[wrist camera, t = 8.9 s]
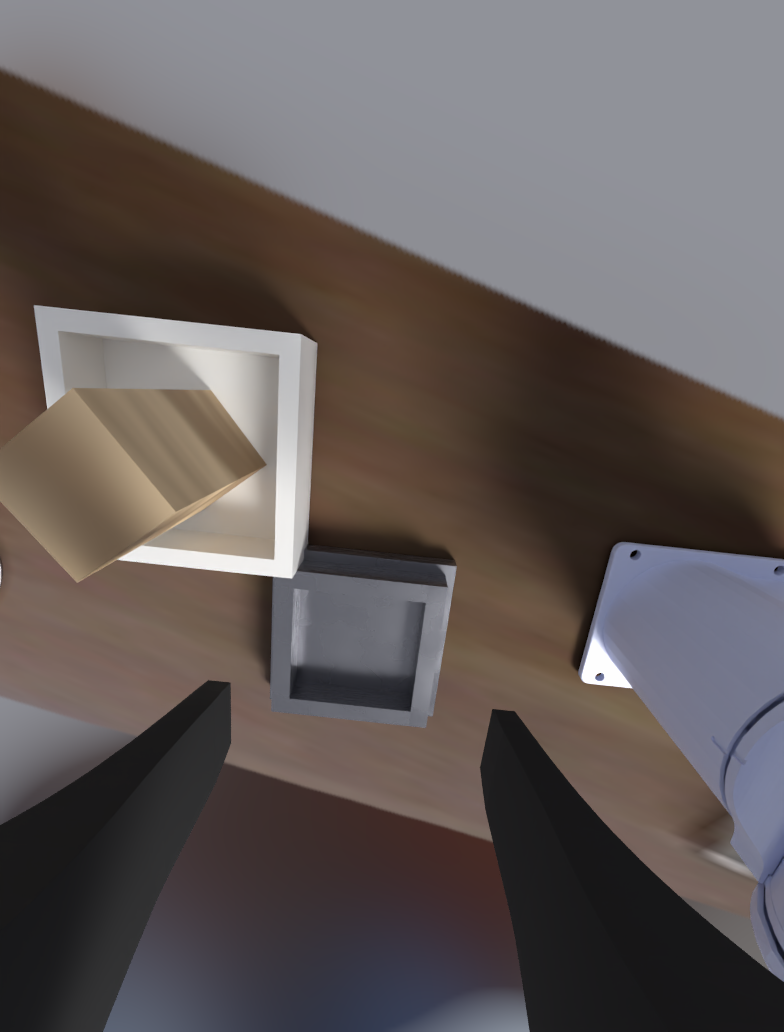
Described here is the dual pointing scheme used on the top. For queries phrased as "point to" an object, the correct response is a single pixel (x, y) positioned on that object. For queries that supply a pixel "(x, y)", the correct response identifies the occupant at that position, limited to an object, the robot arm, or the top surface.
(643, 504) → the top surface
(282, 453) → the bin tray
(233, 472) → the peg
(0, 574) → the can
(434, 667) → the stud socket
